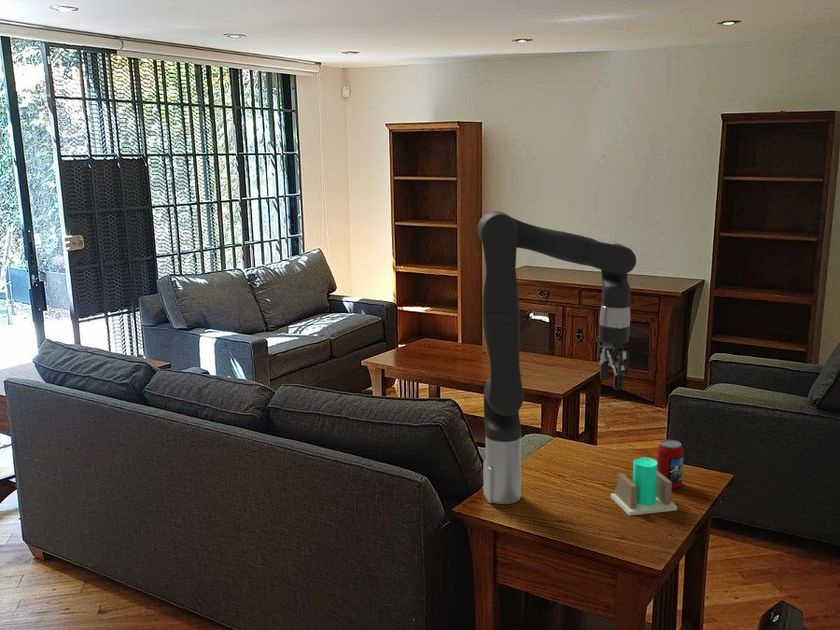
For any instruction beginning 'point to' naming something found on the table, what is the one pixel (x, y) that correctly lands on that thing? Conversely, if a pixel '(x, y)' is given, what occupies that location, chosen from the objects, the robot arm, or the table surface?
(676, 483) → the beverage can
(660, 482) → the holder
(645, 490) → the candle
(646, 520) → the table surface
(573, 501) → the table surface
